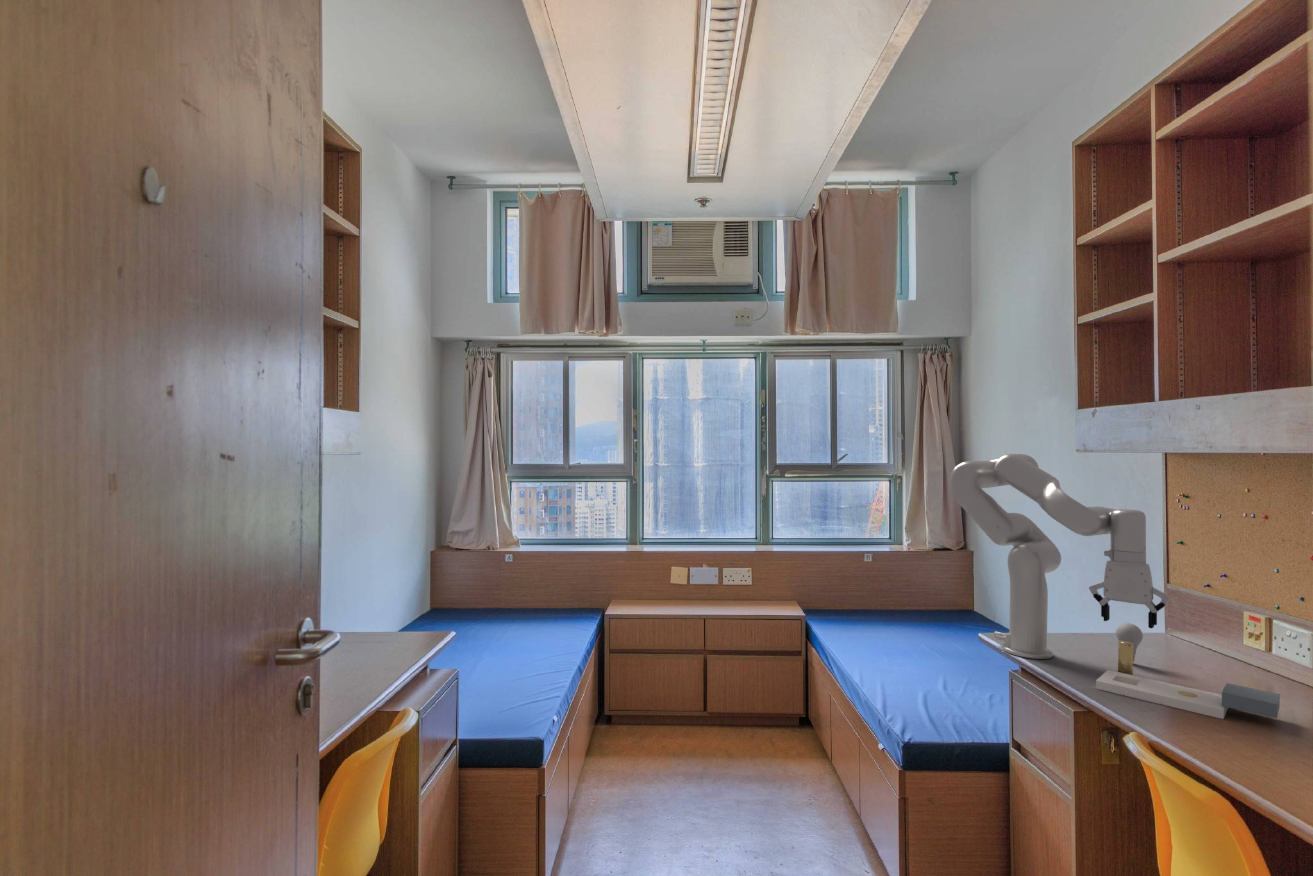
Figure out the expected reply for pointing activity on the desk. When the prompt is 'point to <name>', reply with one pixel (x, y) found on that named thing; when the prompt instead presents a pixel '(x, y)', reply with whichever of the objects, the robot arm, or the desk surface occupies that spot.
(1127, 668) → the pin
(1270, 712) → the housing
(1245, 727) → the desk surface
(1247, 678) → the desk surface
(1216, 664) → the desk surface
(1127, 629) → the lightbulb
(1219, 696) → the board
